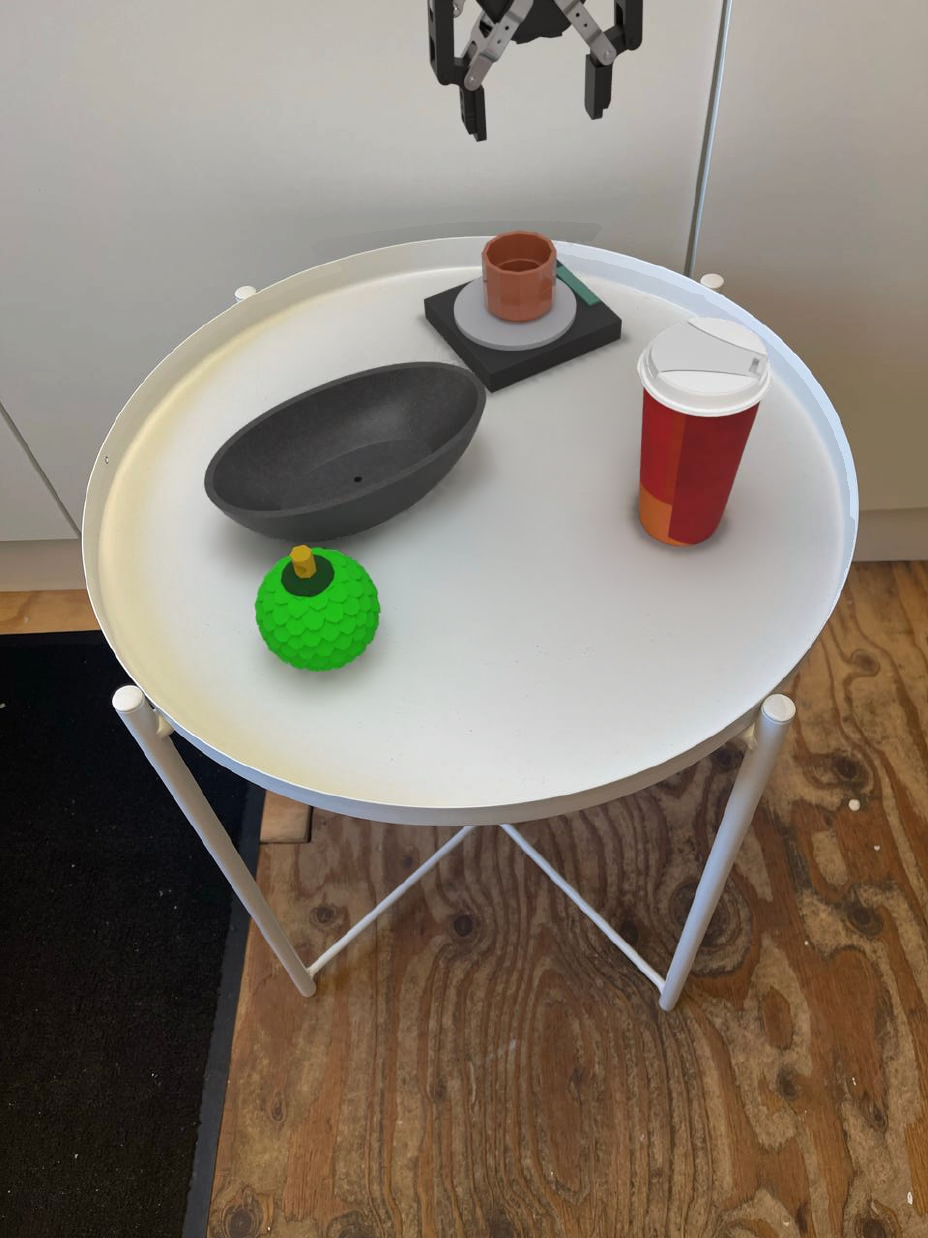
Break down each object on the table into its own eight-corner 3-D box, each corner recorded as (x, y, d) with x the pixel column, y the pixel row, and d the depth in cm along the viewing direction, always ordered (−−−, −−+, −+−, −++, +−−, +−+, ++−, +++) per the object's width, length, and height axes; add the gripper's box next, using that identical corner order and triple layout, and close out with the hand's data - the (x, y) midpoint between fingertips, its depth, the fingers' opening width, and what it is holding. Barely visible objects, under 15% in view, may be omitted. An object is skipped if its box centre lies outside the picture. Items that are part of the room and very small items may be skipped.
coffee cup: (748, 492, 73) (791, 328, 61) (717, 571, 69) (756, 412, 57) (642, 463, 75) (662, 299, 63) (605, 538, 71) (620, 378, 59)
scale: (548, 269, 91) (548, 244, 88) (620, 338, 84) (622, 313, 82) (425, 317, 87) (422, 293, 85) (491, 393, 81) (489, 368, 79)
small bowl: (543, 276, 86) (543, 225, 82) (563, 317, 82) (564, 265, 78) (477, 289, 85) (474, 238, 81) (495, 331, 82) (493, 280, 78)
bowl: (522, 484, 75) (521, 424, 70) (261, 607, 69) (240, 552, 64) (445, 395, 81) (439, 335, 76) (201, 502, 76) (177, 444, 71)
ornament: (247, 664, 66) (207, 574, 58) (316, 582, 70) (288, 487, 62) (343, 714, 64) (315, 627, 56) (409, 626, 68) (392, 532, 59)
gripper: (428, -110, 54) (452, 170, 67) (672, -153, 55) (649, 131, 68) (402, -153, 58) (429, 119, 71) (629, -191, 59) (614, 83, 72)
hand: (536, 125), depth 69 cm, fingers open, 8 cm apart
